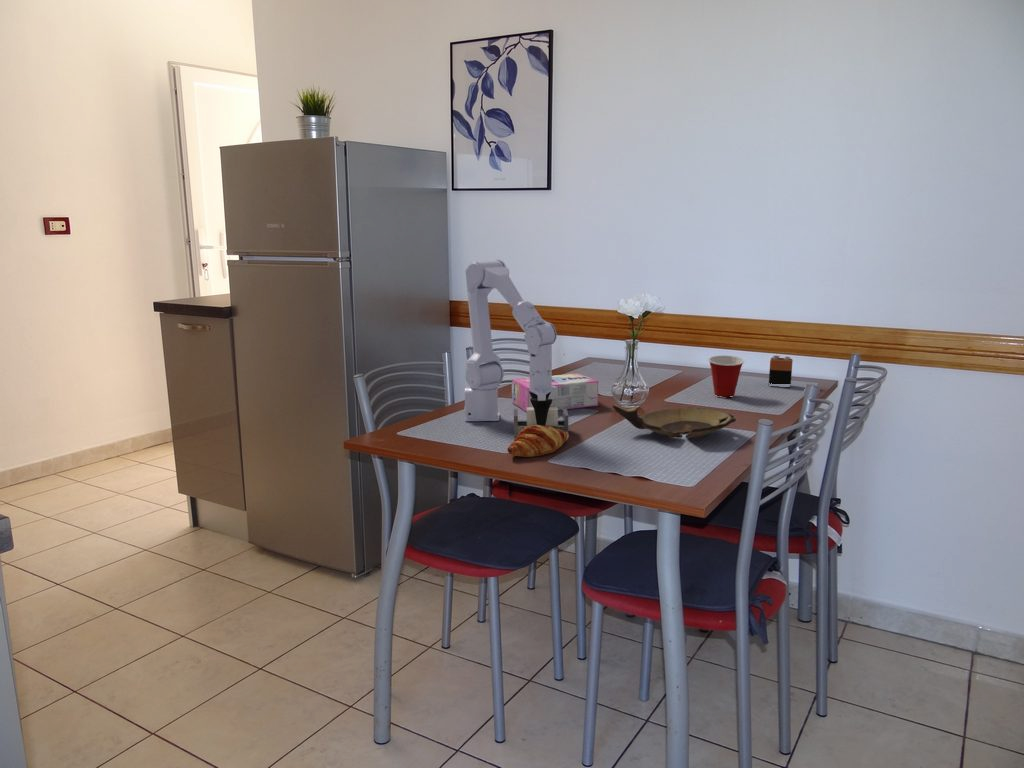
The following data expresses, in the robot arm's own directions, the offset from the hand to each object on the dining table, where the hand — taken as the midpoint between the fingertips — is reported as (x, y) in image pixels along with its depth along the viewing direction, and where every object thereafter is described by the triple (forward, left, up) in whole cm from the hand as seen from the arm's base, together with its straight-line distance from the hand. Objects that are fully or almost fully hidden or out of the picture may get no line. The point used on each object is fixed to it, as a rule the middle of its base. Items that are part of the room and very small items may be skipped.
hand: (540, 421), depth 205 cm
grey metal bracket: (0, 0, -3) cm, 3 cm away
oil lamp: (+35, -1, -4) cm, 35 cm away
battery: (+81, +54, -3) cm, 97 cm away
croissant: (-1, -15, -4) cm, 16 cm away
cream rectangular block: (0, 0, -3) cm, 3 cm away
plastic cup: (+59, +40, -3) cm, 71 cm away
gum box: (+8, +24, +1) cm, 25 cm away
